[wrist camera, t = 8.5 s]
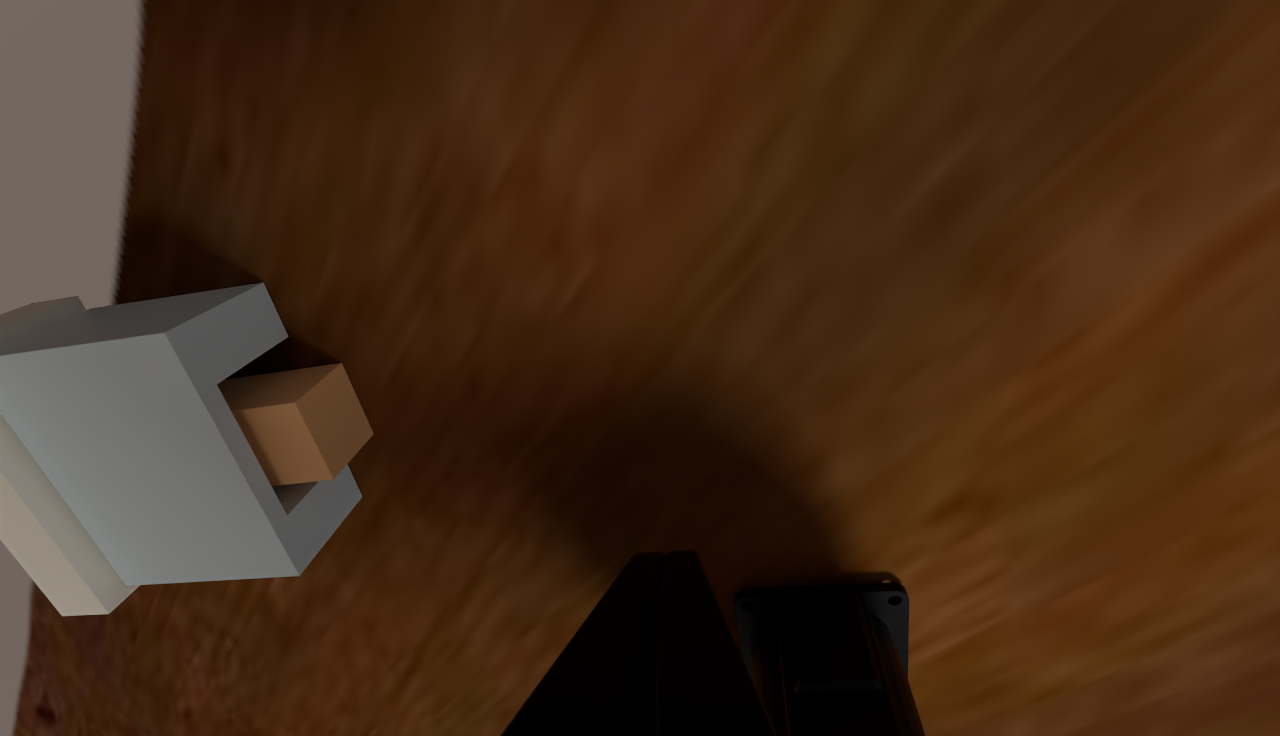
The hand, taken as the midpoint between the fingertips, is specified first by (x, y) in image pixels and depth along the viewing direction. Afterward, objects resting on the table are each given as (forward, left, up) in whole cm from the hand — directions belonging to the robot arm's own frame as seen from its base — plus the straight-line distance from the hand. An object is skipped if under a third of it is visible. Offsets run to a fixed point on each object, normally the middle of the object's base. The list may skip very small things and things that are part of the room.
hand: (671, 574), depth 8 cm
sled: (-2, +18, -12) cm, 22 cm away
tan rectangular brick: (-3, +16, -12) cm, 20 cm away
